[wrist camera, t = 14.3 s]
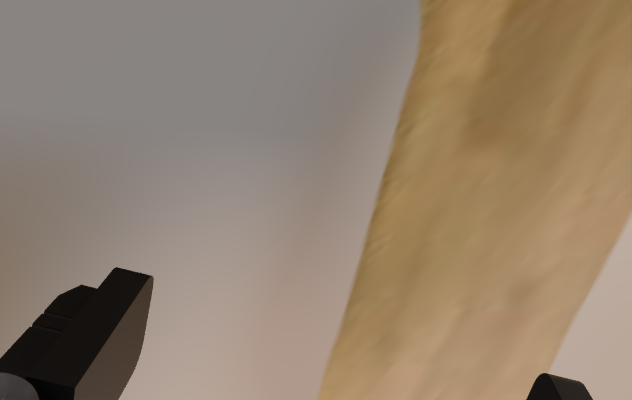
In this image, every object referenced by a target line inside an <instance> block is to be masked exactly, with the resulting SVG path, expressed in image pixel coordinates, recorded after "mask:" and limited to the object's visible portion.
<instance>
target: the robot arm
mask: <svg viewBox="0 0 632 400" xmlns="http://www.w3.org/2000/svg"><path fill="white" fill-rule="evenodd" d="M152 289H153V277H152V276H150V275H146V274H142V273H138V272H133V271H130V270H126V269H122V268H117V267H116V268H114V269H113V270H112V272H111V273H110V274H109V275H108V276H107V278H106V279H105V280H104V281H103V282H102V284H101V285H100V286H99V288H98V289H96V288H92V287H88V286H84V285H80V286H78V287H76V288H73V289H71V290H69V291H67V292H65V293H63V294H61V295H59V296H58V297H57V298H56V299H55V300H54V301H53V302H52V303H51V304H50V305H49V307H47V309H46V310H45V311H44V314H41V315H40V316H39V317H38V318H37V319H36V320H35V322H34V323H33V325H32V327H29V328H28V329H27V330H26V331H25V333H23V335H22V336H21V337H20V338H19V339H18V340H17V341H16V342H15V343H14V344H13V345H12V346H11V348H10V349H9V350H8V351H7V352H6V353H5V354H4V355H3V356H2V357H1V358H0V400H118V399H119V397H120V396H121V394H122V392H123V390H124V388H125V387H126V385H127V383H128V381H129V379H130V377H131V375H132V374H133V372H134V369H135V367H136V365H137V362H138V359H139V356H140V353H141V349H142V345H143V341H144V335H145V329H146V323H147V318H148V312H149V307H150V301H151V295H152ZM526 400H593V399H592V397H591V396H590V394H589V392H588V391H587V389H586V387H585V386H584V384H582V383H581V382H579V381H575V380H571V379H567V378H563V377H559V376H555V375H551V374H547V373H543V374H541V375H539V376H538V377H537V379H536V380H535V382H534V384H533V386H532V389H531V391H530V393H529V395H528V397H527V399H526Z"/></svg>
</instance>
